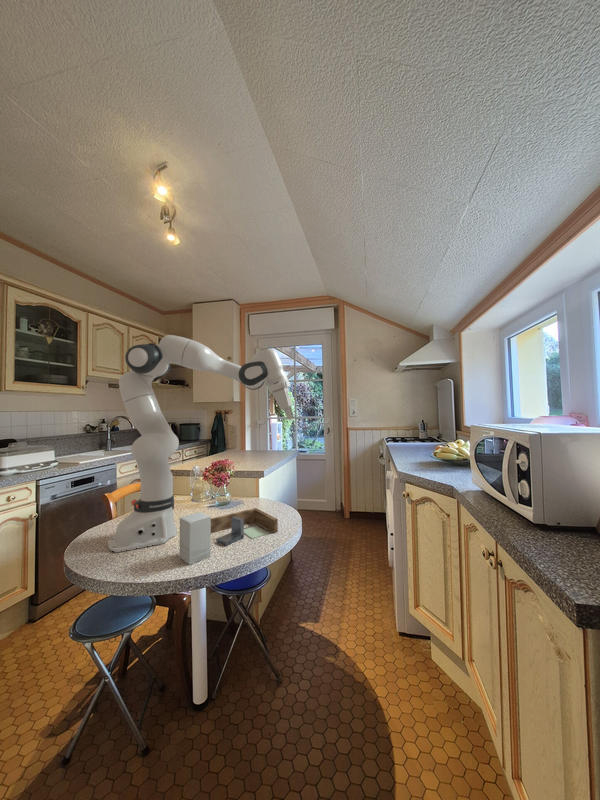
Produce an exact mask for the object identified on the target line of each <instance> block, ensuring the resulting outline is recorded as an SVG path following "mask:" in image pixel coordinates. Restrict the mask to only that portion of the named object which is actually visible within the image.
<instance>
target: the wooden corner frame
mask: <svg viewBox="0 0 600 800" xmlns="http://www.w3.org/2000/svg"><path fill="white" fill-rule="evenodd" d="M234 516H236V517H239V518H242V519H244V525H247V524H250V522H251V523H254V521H255V523H256V524H257V525H259V524H260V525H259V526H261V525H262V528H264V527H265V529H266V528H267V530H268V531H270V532H271V531H272V532H271V533H273V534H275V533H276V532H277V533H279V529H278V527H279V526H278V525H279V524H278V520H279V519H278V518H276V517H274V516H273V515H271V514H268V513H267V512H265V511H263V510H261V509H259V508H257V507H255V508H250V509H246V510H242V511H238V512H233V513H229V514H224V515H220V516H217V517H216V516H215V517H213V518H212V517H211V534H213V533H217V532H218V533H219V532H221V531H224V530H228V529H232V517H234ZM246 523H247V524H246Z"/></svg>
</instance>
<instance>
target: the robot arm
mask: <svg viewBox="0 0 600 800" xmlns="http://www.w3.org/2000/svg"><path fill="white" fill-rule="evenodd" d="M124 358H125V362H126V363H125V364H126V365H127V366H128V368H129V369H130V371H127V372H125V373H123V374H122V375H121V376H120V377H119V379H118V387H119V392H120V396H121V399H122V402H123V406H124V408H125V411H126V413H127V415H128V418H129V421H130V424H132V425H133V427H135V429H136V430H137V431H138V432H139V434H140V435H141V436H139V437H137V438H136V439H135V440H134V442H132V445H131V448H130V452H131V453H130V454H131V456H132V458H133V459H134V460H135V462H136V465H137V469H138V473H139V479H140V490H139V491H140V495H139V496H140V497H139V499H138V500H137V499H132V500H131V502H130V504H131V505H132V506H133V511H132V512H131V513H130V514H128V515H127V516H126V517H125V518H124V519H122V520H121V521H120V522H119V523H118V525H117V526H116V530H115V534H114V535H113V536H111V537H110V538H108V541H107V549H108V548H109V549H108V550H109V551H110V550H111V552H112V551H114V552H113V553H122V552H126V550H127V551H132V550H137V549H141V548H146V547H147V546H148V547H151V546H152V545H153V546H157V545H161V544H164V543H165V544H166V543H167V541H168V540H169V539H170V538H172V537H175V535H176V534H177V532H178V530H177V527H176V523H175V517H174V516H175V515H174V510H175V496H174V493H173V492H174V490H173V489H174V482H173V481H174V475H173V473H172V471H171V467H170V463H169V457H172V455H173V456H174V454H175V453H176V451H177V450H178V448H179V445H180V442H179V438H178V436H177V435H176V433H174V431H173V430H172V427H171V426H170V424H169V423H168V421H167V420H166V418H165V416H164V414H163V412H162V410H161V407H160V405H159V402H158V399H157V397H156V394H155V392H154V389H153V386H152V384H153V383H155V382H157V381H159V380H160V379H161V378H163V377H164V376H166V375H167V374H168V373H169V371H170V370H171V364H174V365H175V364H176V365H178V366H182V367H183V368H187V369H190V370H194V371H195V370H196V371H201V372H208V373H213V374H219V375H221V376H224V377H228V378H230V379H233V380H235V381H238V382H240V383H241V384H242V385H243V386H244V387H245V388H246V389H248V390H251V391H255V390H259V389H261V388H262V387H263V385H264V384H266V386H267V389H268V392H269V394H270V395H272V396H273V398H274V400H275V402H276V404H277V406H278V408H279V409H280V410H281V411H284V414H285V416H286V418H287V420H292V419H293V418H294V417H295V416H294V411H293V408H292V406H293V403H292V400H291V397H290V395H289V392H290V390H289V388H291V383H290V382H289V378H288V376H287V375H288V374H286V372H285V370H284V366H283V363H282V360H281V358H280V356H279V353H278V352H277V351H276V350H275V349H274V348H271V347H266V348H261V349H259V350H258V351H256V353H255V354H254V356H253V357H252V358H251V359H250V360H248V361H247V362H246V363H244V364H243V365H242V366H241V365H240V364H236V363H233V362H230V361H227V360H225V359H224V358H222V357H221V356H219V355H218V354H216V353H215V351H213V350H212V349H211V348H209V347H208V346H206V345H204V344H203V343H201V342H199V341H196V340H194V339H190V338H188V337H184V336H180V335H179V336H178V335H173V334H167V335H164V336H163V337H162V338H161V339H160V341H159V343H158V344H156V343H154V342H150V343H141V344H135V345H133V346H131V347H130V348H128V349H127V350H126V353H125V357H124ZM153 546H152V547H153ZM148 547H147V548H148ZM136 548H137V549H136ZM121 551H122V552H121Z"/></svg>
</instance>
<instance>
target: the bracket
mask: <svg viewBox="0 0 600 800" xmlns="http://www.w3.org/2000/svg"><path fill="white" fill-rule="evenodd" d="M244 526H245V524H244V519H242V518H239V517H236V516H234V517H232V528H231V532H229V533H227V534H224V535H222V536H220V537H218V538H216V543H217V544H220V545H221V544H222V546H224V547H228V546H230V545H232V543H233V544H235V543H237V542H239V541H240V540H243V539H244V537H245V534H244V528H245V527H244Z"/></svg>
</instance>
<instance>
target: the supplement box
mask: <svg viewBox="0 0 600 800" xmlns="http://www.w3.org/2000/svg"><path fill="white" fill-rule="evenodd" d="M211 519H212V517H211V516H209V515H207V514H206V513H204V512H201V511H199V512H195V513H191V514H188V515H183V516H181V517H179V558H180V559H181V560H183V562H185V563H186V564H187V565H192V564H195V563H197V562H198V563H199V562H201V561H203V560H205V559H207V558H208V559H209V558H210V557H211V554H212V553H211V552H212V551H211V547H212V545H211V544H212V543H211V542H212V541H211V539H212V537H211V534H212V533H211Z"/></svg>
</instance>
